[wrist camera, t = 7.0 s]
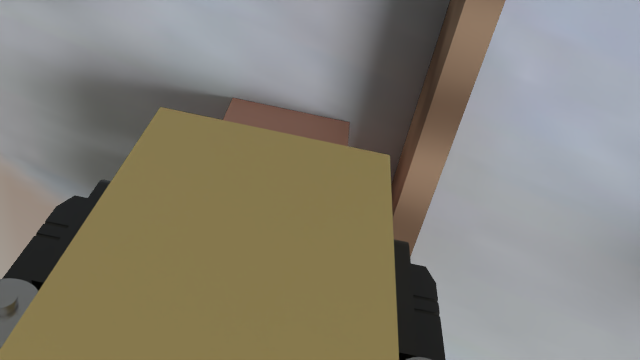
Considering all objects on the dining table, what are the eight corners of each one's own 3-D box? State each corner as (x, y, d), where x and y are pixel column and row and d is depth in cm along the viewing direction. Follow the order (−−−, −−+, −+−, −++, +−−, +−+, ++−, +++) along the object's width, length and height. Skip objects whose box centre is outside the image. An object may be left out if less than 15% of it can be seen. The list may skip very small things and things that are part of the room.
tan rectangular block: (160, 106, 15) (-44, 415, 8) (389, 154, 16) (405, 497, 8) (153, 228, 18) (-11, 559, 10) (354, 268, 18) (341, 620, 10)
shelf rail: (291, -357, 21) (264, -403, 16) (585, -284, 21) (652, -306, 16) (212, 254, 36) (186, 330, 31) (383, 288, 36) (385, 368, 31)
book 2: (232, 97, 30) (186, 201, 23) (349, 122, 31) (342, 232, 23) (224, 163, 32) (179, 277, 25) (333, 186, 33) (321, 305, 25)
